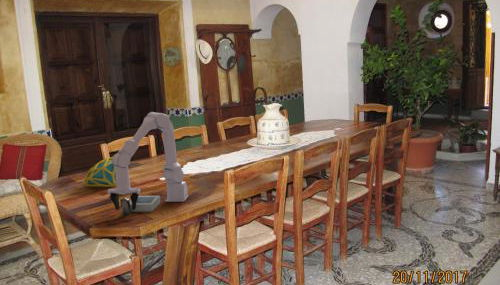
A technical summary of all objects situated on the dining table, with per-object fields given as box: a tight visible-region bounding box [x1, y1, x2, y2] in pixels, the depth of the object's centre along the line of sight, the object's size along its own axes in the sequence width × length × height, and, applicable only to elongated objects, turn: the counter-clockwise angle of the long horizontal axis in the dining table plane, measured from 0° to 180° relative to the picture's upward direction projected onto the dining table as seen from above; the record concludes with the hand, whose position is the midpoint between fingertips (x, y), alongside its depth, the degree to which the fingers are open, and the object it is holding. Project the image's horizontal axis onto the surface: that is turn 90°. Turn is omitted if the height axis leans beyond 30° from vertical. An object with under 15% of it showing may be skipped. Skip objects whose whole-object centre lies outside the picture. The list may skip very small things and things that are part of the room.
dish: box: [130, 195, 161, 213], centre depth 217 cm, size 12×12×4 cm
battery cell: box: [119, 197, 132, 217], centre depth 208 cm, size 4×4×8 cm
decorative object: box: [84, 156, 117, 188], centre depth 253 cm, size 23×23×15 cm
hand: (125, 209), depth 209 cm, fingers open, 7 cm apart
